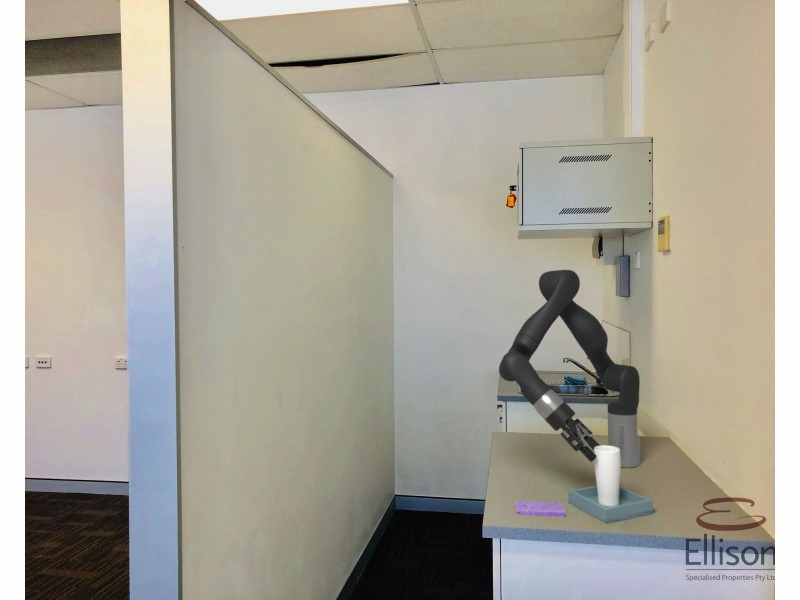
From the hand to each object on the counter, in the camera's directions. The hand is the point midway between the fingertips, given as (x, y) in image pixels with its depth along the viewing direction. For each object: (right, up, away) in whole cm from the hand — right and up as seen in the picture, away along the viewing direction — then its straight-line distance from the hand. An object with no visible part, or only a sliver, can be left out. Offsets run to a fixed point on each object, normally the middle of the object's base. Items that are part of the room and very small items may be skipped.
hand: (597, 455), depth 152 cm
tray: (+3, -14, -1) cm, 14 cm away
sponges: (-16, -15, -2) cm, 22 cm away
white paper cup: (+3, -13, -1) cm, 13 cm away
